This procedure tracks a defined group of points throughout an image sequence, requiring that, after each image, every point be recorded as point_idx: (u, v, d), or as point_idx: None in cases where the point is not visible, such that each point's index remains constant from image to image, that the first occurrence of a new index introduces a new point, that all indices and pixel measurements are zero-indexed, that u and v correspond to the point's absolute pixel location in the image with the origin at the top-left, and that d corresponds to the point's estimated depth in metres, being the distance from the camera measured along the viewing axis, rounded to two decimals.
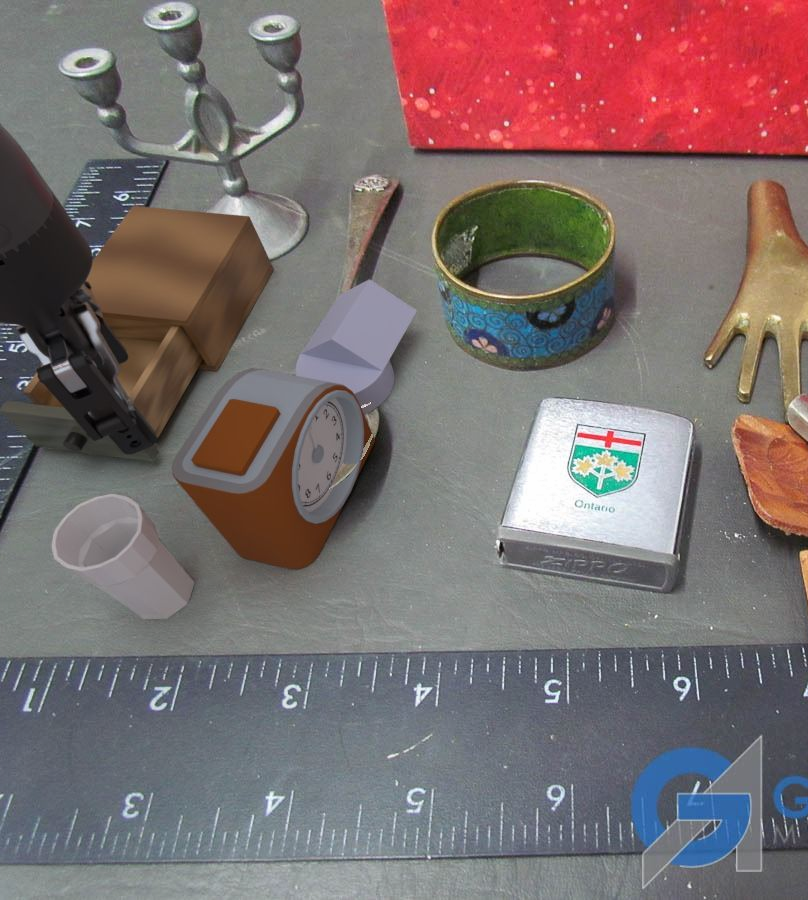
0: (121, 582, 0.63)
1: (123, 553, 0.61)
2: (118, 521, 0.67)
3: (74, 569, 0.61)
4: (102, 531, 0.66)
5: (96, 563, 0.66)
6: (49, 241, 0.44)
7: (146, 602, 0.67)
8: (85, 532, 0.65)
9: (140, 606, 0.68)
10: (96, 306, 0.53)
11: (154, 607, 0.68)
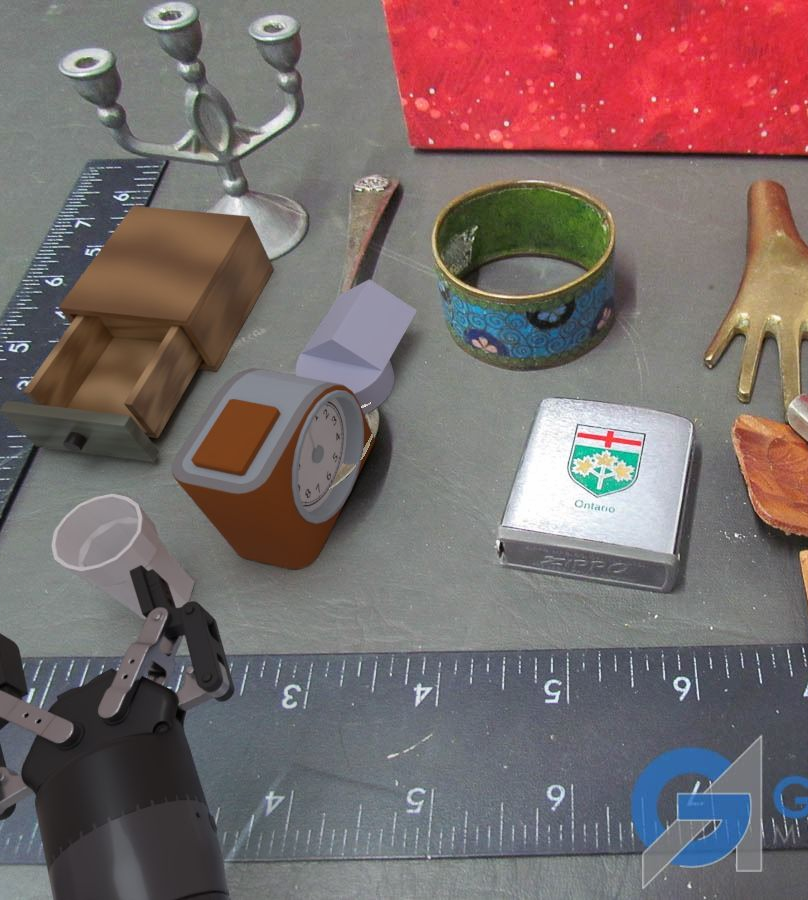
0: (121, 582, 0.63)
1: (123, 553, 0.61)
2: (118, 521, 0.67)
3: (74, 569, 0.61)
4: (102, 531, 0.66)
5: (96, 563, 0.66)
6: None
7: None
8: (85, 532, 0.65)
9: None
10: None
11: None
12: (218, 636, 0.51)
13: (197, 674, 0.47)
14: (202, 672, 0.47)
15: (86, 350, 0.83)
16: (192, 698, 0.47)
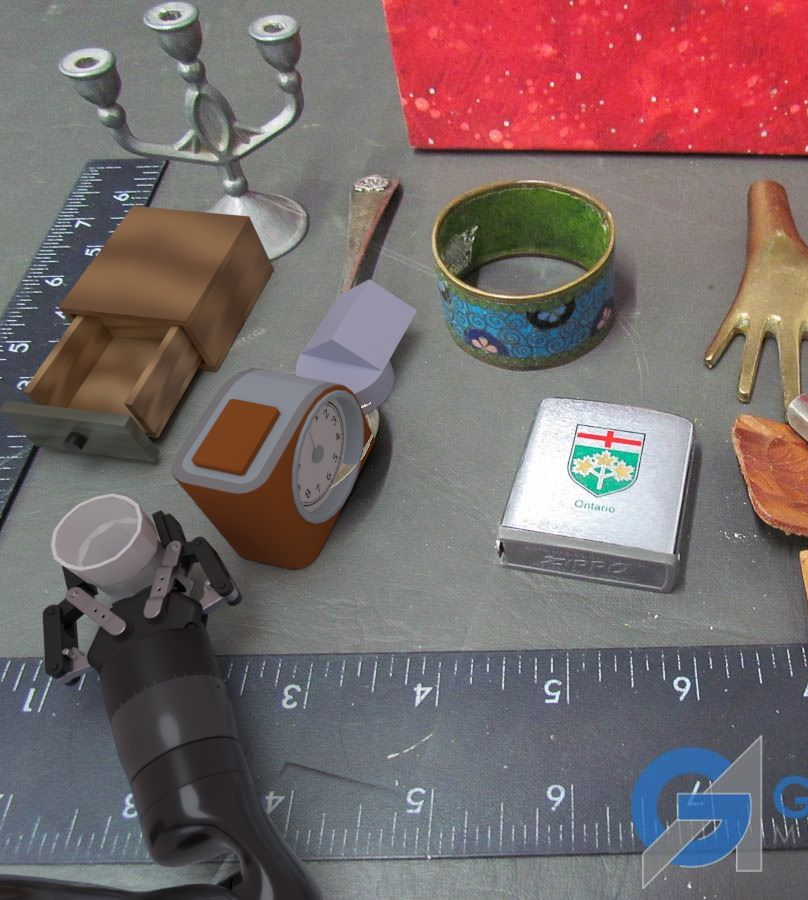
0: (120, 582, 0.63)
1: (123, 553, 0.61)
2: (118, 521, 0.67)
3: (73, 569, 0.61)
4: (101, 531, 0.66)
5: (95, 563, 0.66)
6: None
7: None
8: (84, 532, 0.65)
9: None
10: None
11: None
12: (221, 562, 0.67)
13: (213, 584, 0.63)
14: (217, 582, 0.63)
15: (86, 350, 0.83)
16: (212, 602, 0.63)
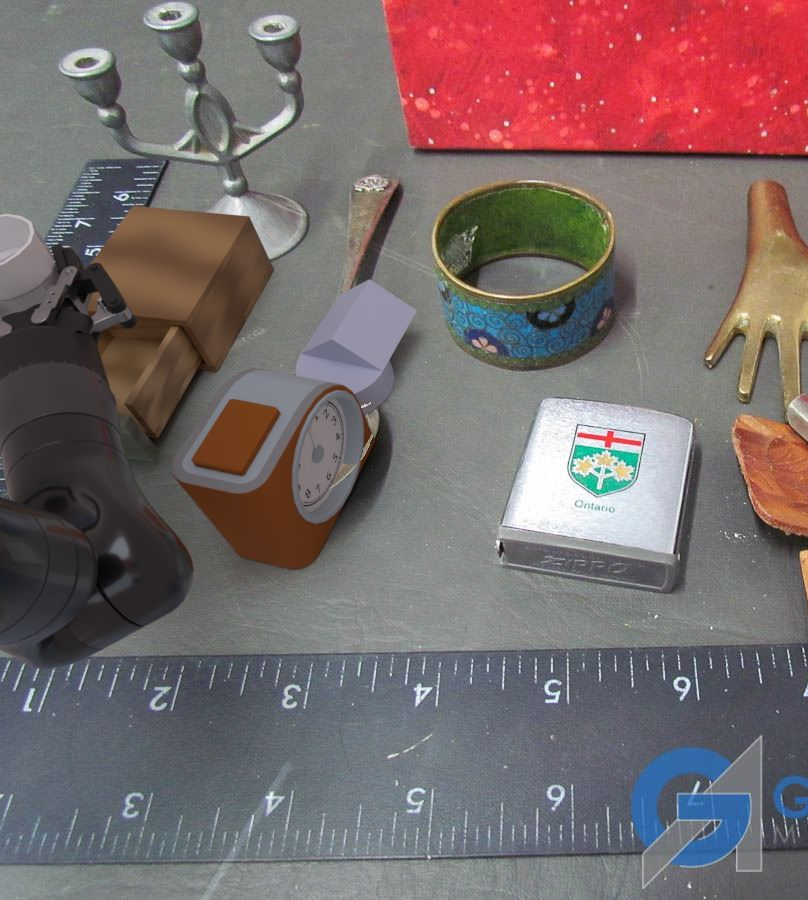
0: (12, 298, 0.63)
1: (11, 259, 0.61)
2: (16, 250, 0.66)
3: None
4: None
5: None
6: None
7: None
8: None
9: None
10: None
11: None
12: (119, 292, 0.66)
13: (105, 300, 0.63)
14: (109, 298, 0.63)
15: None
16: (104, 318, 0.63)
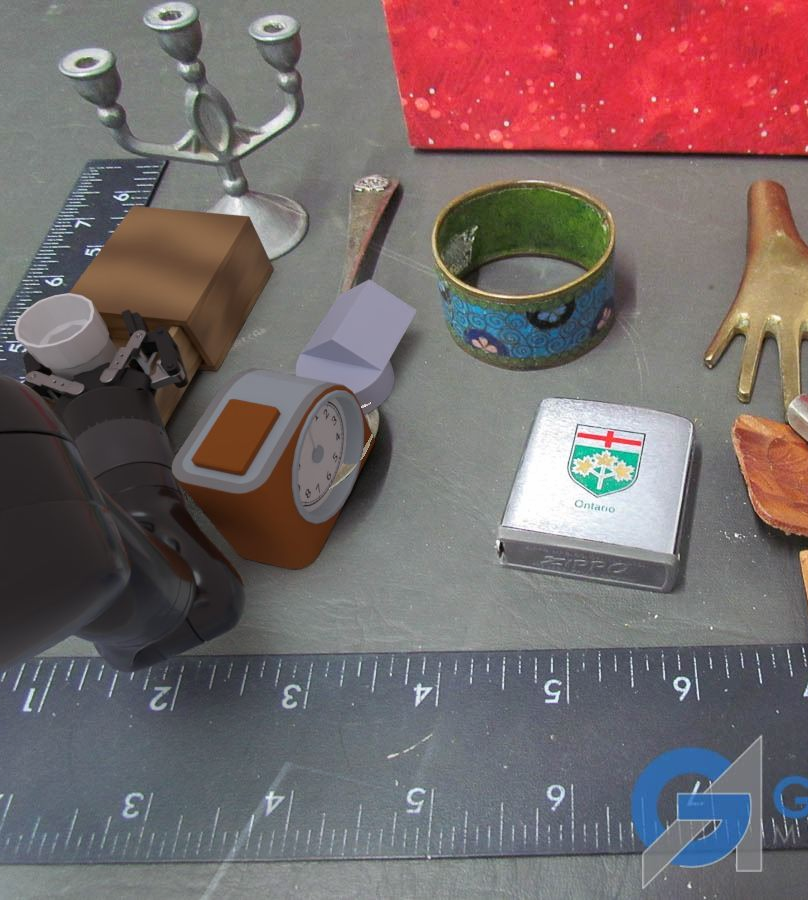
0: (74, 366, 0.73)
1: (76, 335, 0.71)
2: (75, 322, 0.77)
3: (33, 346, 0.71)
4: (60, 330, 0.76)
5: None
6: None
7: None
8: (45, 328, 0.75)
9: None
10: None
11: None
12: (179, 353, 0.77)
13: (163, 363, 0.73)
14: (167, 362, 0.73)
15: None
16: (160, 379, 0.73)
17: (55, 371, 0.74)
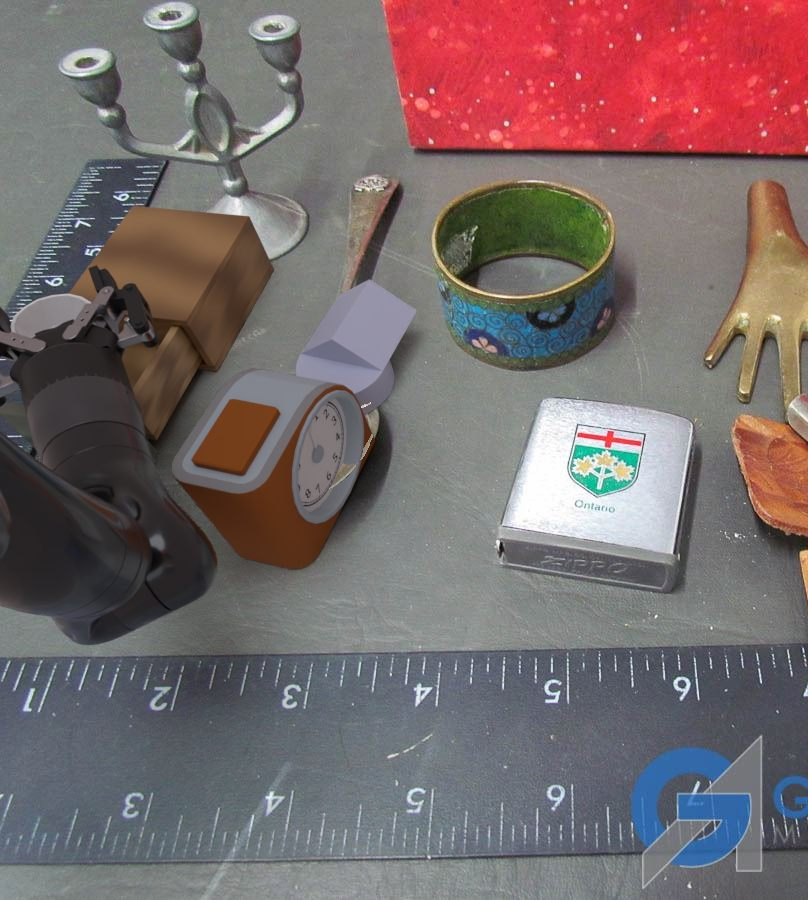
0: None
1: None
2: None
3: None
4: None
5: None
6: None
7: None
8: (40, 327, 0.75)
9: None
10: None
11: None
12: (149, 311, 0.72)
13: (131, 321, 0.69)
14: (135, 320, 0.69)
15: None
16: (128, 337, 0.69)
17: None
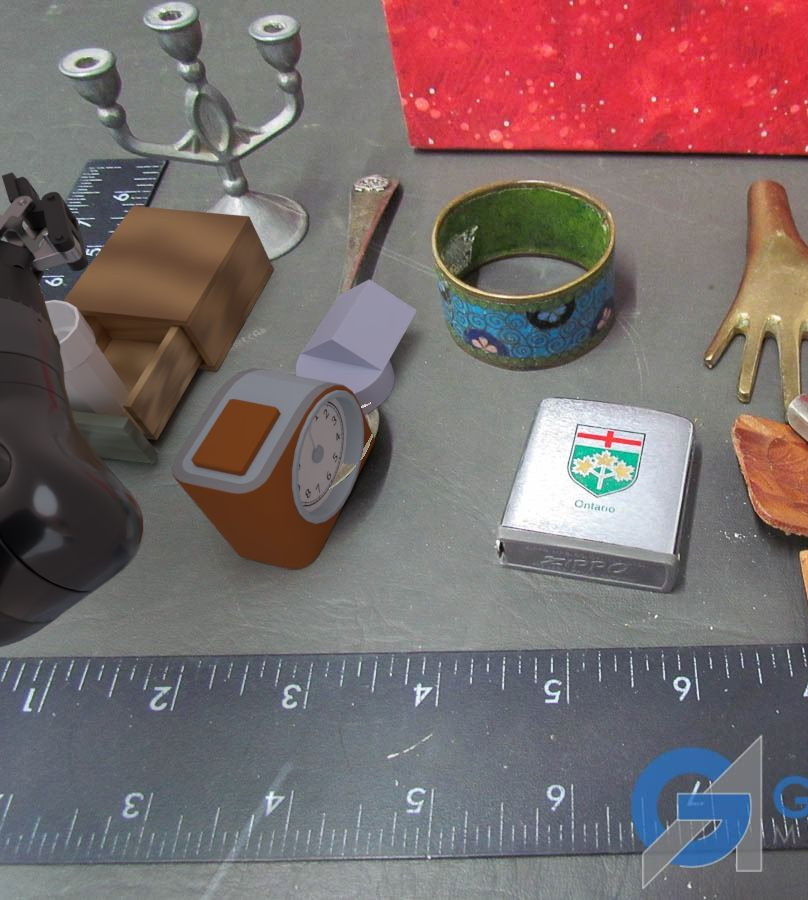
0: None
1: (61, 343, 0.71)
2: (61, 329, 0.76)
3: None
4: None
5: None
6: None
7: (86, 401, 0.77)
8: None
9: (81, 406, 0.77)
10: None
11: (93, 409, 0.78)
12: (78, 228, 0.58)
13: (51, 235, 0.55)
14: (55, 234, 0.55)
15: None
16: (46, 256, 0.55)
17: None
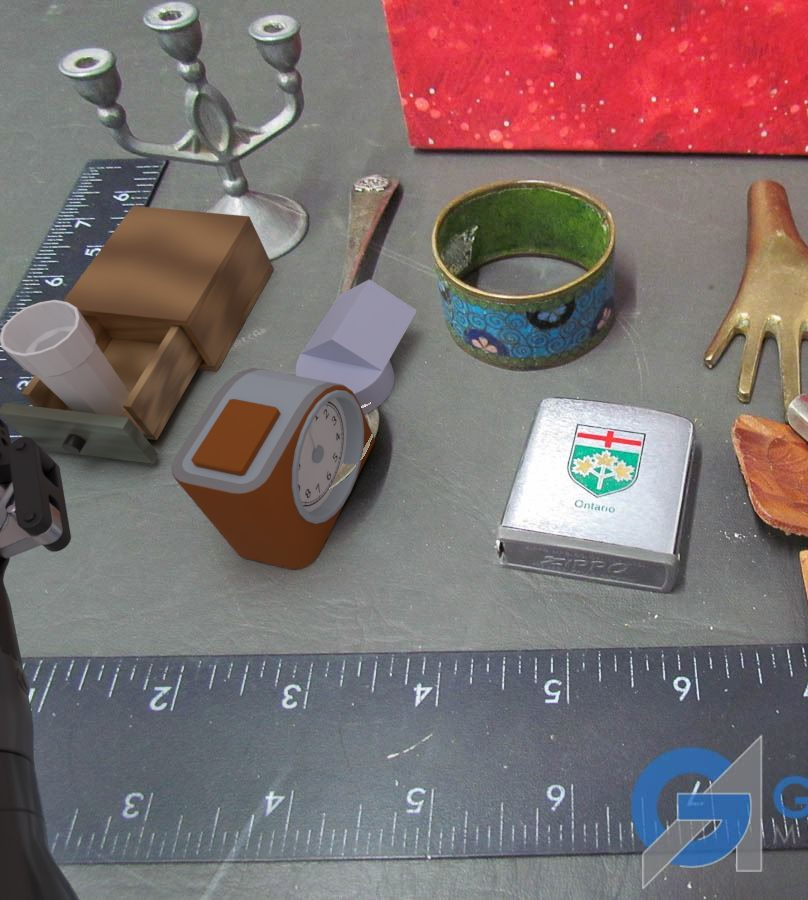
0: (61, 374, 0.73)
1: (61, 343, 0.71)
2: (61, 329, 0.76)
3: (18, 355, 0.70)
4: (47, 337, 0.76)
5: None
6: None
7: (86, 401, 0.77)
8: (31, 335, 0.75)
9: (81, 406, 0.77)
10: None
11: (93, 409, 0.78)
12: (58, 481, 0.43)
13: (19, 513, 0.40)
14: (25, 511, 0.40)
15: None
16: (13, 541, 0.40)
17: (42, 378, 0.74)
